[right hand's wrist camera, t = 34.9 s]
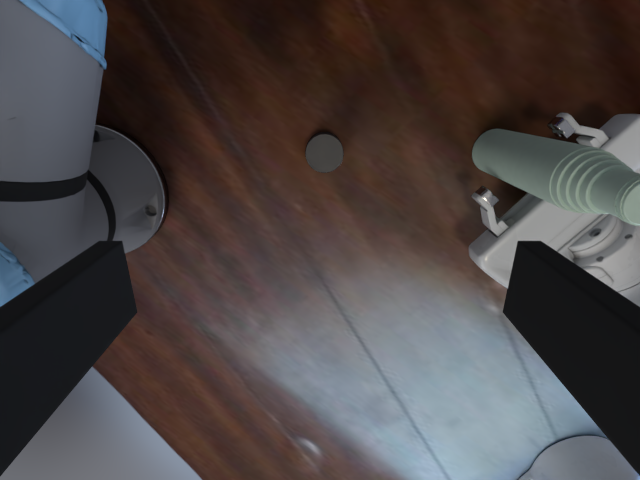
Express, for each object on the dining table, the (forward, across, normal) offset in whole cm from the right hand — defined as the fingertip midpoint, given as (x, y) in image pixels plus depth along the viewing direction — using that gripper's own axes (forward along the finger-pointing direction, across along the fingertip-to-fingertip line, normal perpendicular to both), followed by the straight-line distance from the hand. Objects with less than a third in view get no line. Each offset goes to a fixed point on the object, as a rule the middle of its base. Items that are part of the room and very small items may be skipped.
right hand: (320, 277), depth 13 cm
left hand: (+26, +19, 0) cm, 32 cm away
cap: (+30, 0, 0) cm, 30 cm away
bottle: (+32, +20, 0) cm, 37 cm away
